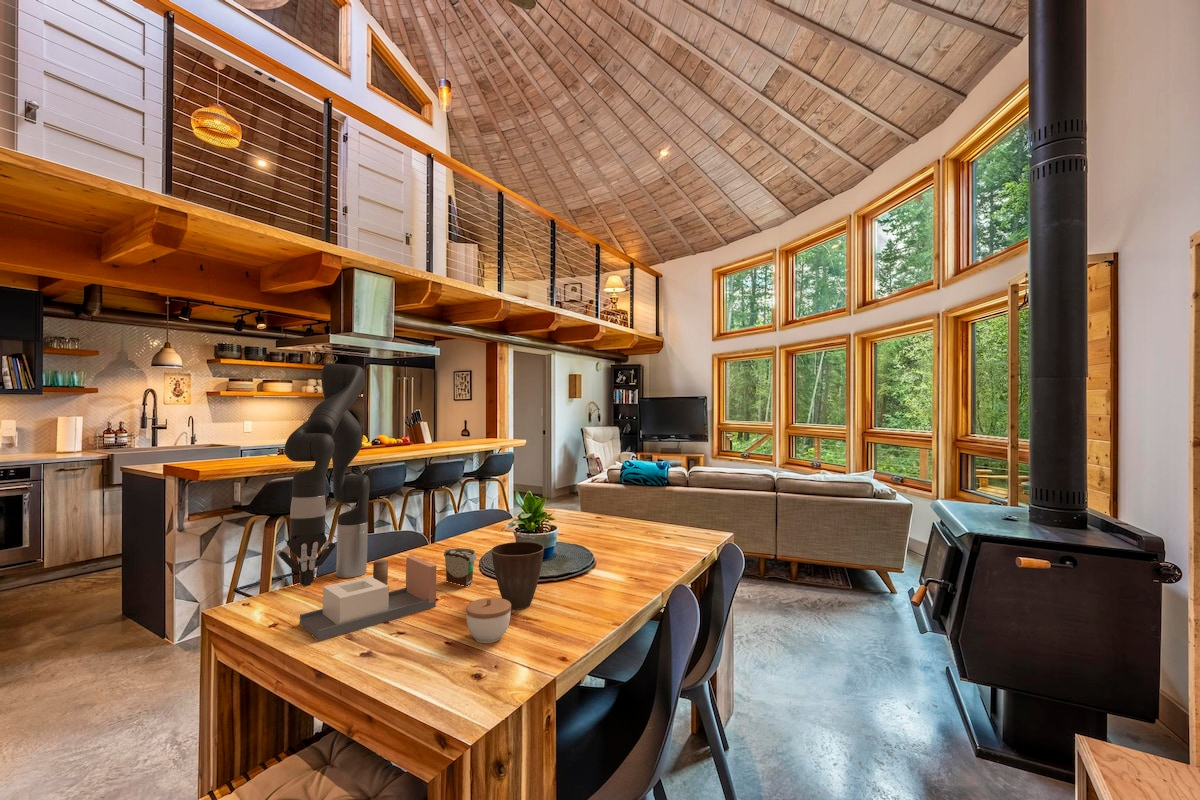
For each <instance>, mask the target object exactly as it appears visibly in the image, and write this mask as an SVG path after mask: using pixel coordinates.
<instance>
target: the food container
mask: <svg viewBox="0 0 1200 800" xmlns="http://www.w3.org/2000/svg"><path fill="white" fill-rule="evenodd" d="M475 551H476V550H474V549H471V548H463V547H461V548H458V547H457V548H450V549H449V548H448V549H445V550H444V553H443V557H444V560H445V563H444V565H445V582H446V581H448V582H447V583H449V582H452V583H456V584H460V585H464V586H468V585H470V584H471V583H472V584H473V577H474V576H473V575H474V568H475V567H474V566H475V561H477V554H476V552H475ZM452 583H451V584H452ZM456 584H455V585H456ZM472 584H471V585H472ZM471 585H470V586H471Z"/></svg>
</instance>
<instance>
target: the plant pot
mask: <svg viewBox="0 0 1200 800" xmlns="http://www.w3.org/2000/svg"><path fill="white" fill-rule="evenodd" d="M544 552H545V546H544V545H542V544H540V543H537V542H530V541H514V542H513V541H512V542H506V543H501V544H498V545H495V546H493V547H492V548H491V559H492V564H493V570H494V571H493V572H494V574H495V579H496V583H497V584H496V585H497V588H498V590H499V591H498V592H499V594H500V596H501V599H505V600H508V601H509V602H510V603H511V610H522V608H523V609H526V608H528V607H530V606H531V605H532V602H533V600H534V599H533V598H534V596H535V593H536V591H537V588H538V586H537V585H538V583H539V580H540V576H541V571H542V565H543V558H544Z"/></svg>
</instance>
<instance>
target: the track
mask: <svg viewBox="0 0 1200 800" xmlns="http://www.w3.org/2000/svg"><path fill="white" fill-rule="evenodd" d="M436 599H437V565H436V564H434V563H431V562H430V561H429V562H428V561H426V560H424V559H421V558H419V557H416V556H415V555H409V556H406V559H405V587H403V588H400V589H395V590H392V591H389V604H388V610H387V611H384V612H380V613H377V614H373V615H370V616H366V617H362V618H359V619H355V620H352V621H348V622H345V623H341V624H337V625H336V624H335V623H334V622H333V621H331V620H330V619H329V618H328V617H326V616H325V615H324V614H323V608H321V609H316V610H312V611H309V612H308V611H307V612H304V613H300V614H299V625H300V624H301V625H302V626H303V627H304V628H305V629H306V630H307V631H308V632H307V631H306V630H305V629H304V628H303V627H302V626H301V625H300V626H301V627H302V628H303V629H304V630H305V631H306V632H307V633H308V634H310V633H311V634H312V635H313V636H314V637H315V638H316V639H317V640H318V642H322V641H325V640H324V639H326V640H328V638H329V639H332V638H335V636H336V637H338V635H339V636H342V635H341V634H343V635H346V634H348V633H351V632H356V631H359V630H362V629H363V630H364V629H367V628H369V627H373V626H375V625H380V624H383V623H386V622H389V621H392V620H396V619H399V618H402V617H406V616H409V615H412V614H416V613H421V612H422V611H426V610H431V609H433V607H434V608H436V606H437V605H436V603H437V602H436ZM345 633H346V634H345ZM311 634H310V635H311ZM312 635H311V636H312ZM313 636H312V637H313ZM314 637H313V638H314ZM315 638H314V639H315ZM316 639H315V640H316ZM317 640H316V641H317ZM321 640H322V641H321Z"/></svg>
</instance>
